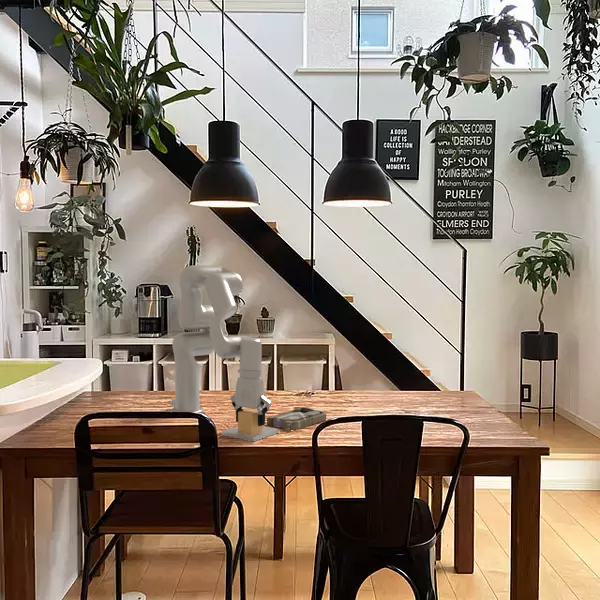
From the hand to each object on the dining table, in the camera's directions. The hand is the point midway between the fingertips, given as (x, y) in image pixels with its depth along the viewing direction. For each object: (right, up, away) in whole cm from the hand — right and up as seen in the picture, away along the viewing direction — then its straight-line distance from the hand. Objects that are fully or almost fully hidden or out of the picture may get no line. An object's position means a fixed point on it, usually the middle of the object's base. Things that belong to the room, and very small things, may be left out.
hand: (250, 423), depth 229 cm
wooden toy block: (0, -2, 0) cm, 2 cm away
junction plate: (0, -4, 0) cm, 4 cm away
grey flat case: (+16, -4, +19) cm, 25 cm away
